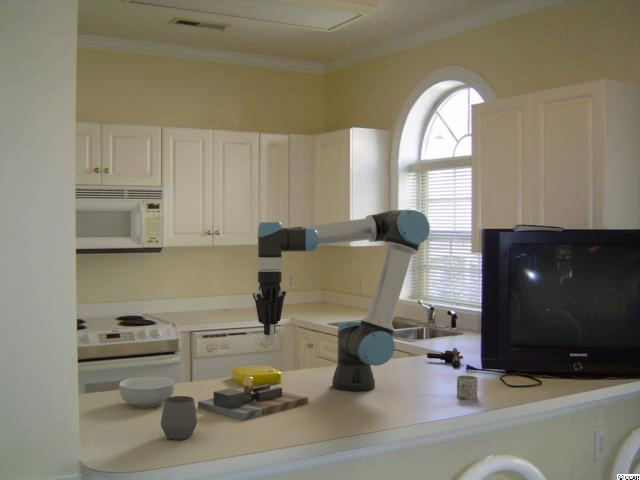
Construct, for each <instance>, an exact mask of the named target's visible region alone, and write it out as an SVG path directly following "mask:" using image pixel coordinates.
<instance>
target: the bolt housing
mask: <svg viewBox="0 0 640 480" xmlns="http://www.w3.org/2000/svg"><path fill="white" fill-rule="evenodd" d="M243 391H244V390H243ZM243 391H242V390H239V389H234V388H230V387H229V388H225V389H220V390H215V391H213V398H214V399H213V405H215V406H219V407H223V408H227V409H232V408H236V407H240V406H244V405H245V395H246V392H243ZM282 392H283V387H280V386H276V387H273V388H271V384H268V385H267V384H266V385H256V386H253V393H256V401H258V402H261V401H265V400H270V399H274V398H278V397H282Z"/></svg>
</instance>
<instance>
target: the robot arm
mask: <svg viewBox="0 0 640 480" xmlns="http://www.w3.org/2000/svg"><path fill="white" fill-rule="evenodd" d="M257 227H258V229H257V270H259V271H258V272H257V283H259V286H258V291H257V292H256V293H255V292H254V293H253V294H252V297H253V300H254V302H255V309H256V314H257V318H258V323H261V325H263V335H264V346H265V345H266V346H275V334H276V325H279V322H281V318H282V312H283V307H284V301H285V297H286V295H287V292H286V291H284V290H282V289H281V283H282V281H283V280H282V278H283V277H282V276H283V275H282V271H281V270H282V263H283V262H282V261H283V259H282V258H283V257H282V254H283V252H285V253H287V252H290V253H291V252H296V253H297V252H298V253H299V252H302V253H303V252H306V253H308V252H315V251H316V250H317V248H318V247H320V246H321V247H322V246H328V245H329V246H330V245H336V244H337V245H338V244H346V243H354V242H359V241H360V242H362V241H368V242H370V243H375V242H384V245H385V246H386V251H385V256H384V259H383V262H382V265H381V268H380V272H379V274H378V278H377V279H378V280H377V282H376V284H375V288H374V292H373V294H372V299H371V302H370V305H369V307H368V312H367V315H366V316H365V317H363V318H361V319H360V321H343V322H342V321H341V322H340V323H339V324H338V325H337V326H338V328H337V364H336V368H335V370H334V373H333V377H332V379H331V380H332V382H331V386H332V387H333V388H334V389H337V390H341V391H348V392H349V391H351V392H352V391H354V392H358V391H359V392H360V391H361V392H363V391H369V390H373V389H374V388H376V380H375V377H374V373H373V369H372V366H376V367H378V366H382V365H384V364H385V363H387V362H389V361H390V360H391V359H392V357H393V355H394V353H395V348H396V347H395V345H396V344H395V341H394V338H393V335H394V333H395V328H394V326H393V324H392V323H393V319H394V315H395V312H396V310H397V307H398V303H399V299H400V296H401V293H402V290H403V285H404V282H405V279H406V276H407V273H408V269H409V266H410V262H411V258H412V257H413V256H414V255H416V254H417V253H418V251H419V248H420V245H421V244H422V243H424V242H425V241H426V240H427V238H428V237H429V235H430V231H431V227H430V222H429V220H428V217H427V216H426V215H425V214H424V213H423V212H422V211H420V210H418V209H412V208H405V209H404V208H403V209H391V210H387V211H384V212H380V213H376V214H375V213H374V214H368V215H366V216H365V217H364V218H360V219H351V220H344V221H343V220H342V221H335V222H328V223H327V222H325V223H318V224H308V225H301V226H293V227H283V226H282V222H279V221H277V222H276V221H275V222H274V221H262V222H260V223H259V224H258V226H257Z"/></svg>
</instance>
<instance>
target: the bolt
mask: <svg viewBox="0 0 640 480" xmlns="http://www.w3.org/2000/svg"><path fill="white" fill-rule="evenodd" d="M253 387H254V386H253V377H251V376H246V377H244V386H243V392H246V395H245V402H248V401H252V400H256V393H253Z"/></svg>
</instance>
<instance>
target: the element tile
mask: <svg viewBox="0 0 640 480" xmlns="http://www.w3.org/2000/svg"><path fill="white" fill-rule="evenodd" d="M246 376H251V377H253V387H255V386H261V385H266V384H267V385H278V384H281V383H282V372H281V371H280V370H278V369H276V368H274V367H272V366H270V365H265V364H264V365H250V366H248V365H247V366H235V367H232V368H231V380H232V381H234V382H236V383H237V384H238V385H239V386H241V387H244V377H246Z"/></svg>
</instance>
